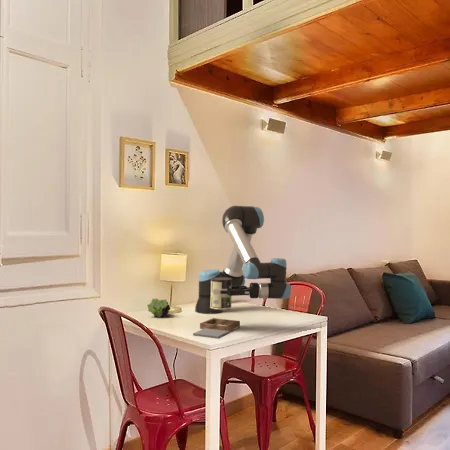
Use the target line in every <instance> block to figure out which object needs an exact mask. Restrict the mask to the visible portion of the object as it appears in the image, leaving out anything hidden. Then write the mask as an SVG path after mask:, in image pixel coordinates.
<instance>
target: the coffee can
mask: <svg viewBox="0 0 450 450" xmlns="http://www.w3.org/2000/svg"><path fill="white" fill-rule="evenodd" d="M227 288H230V289H232V278H227V277H213V278H211V301H210V308H212V309H218V310H222V311H223V310H231V308H232V296H229V295H213V289H227Z"/></svg>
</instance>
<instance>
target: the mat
mask: <svg viewBox="0 0 450 450" xmlns="http://www.w3.org/2000/svg"><path fill="white" fill-rule="evenodd" d="M229 333H230V331H225V330H216V329H208V328H204V329H200V330H197V331H195V332H193V333H192V336H196V337H204V338H210V339H220V338H221V336H222V337H223V335H224V336H225V334H226V335H227V334H229Z"/></svg>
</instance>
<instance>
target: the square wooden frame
mask: <svg viewBox="0 0 450 450" xmlns="http://www.w3.org/2000/svg"><path fill="white" fill-rule="evenodd" d="M240 325H241V321H240V320H233V319H225V318H224V319H223V318H215V317H212V318H210V319H208V320H205V321H202V322H200V323H199V329H200V330H202V329H204V328H208V329H216V330H225V331H229V332H231V331H233V330H235V329H237V328H239V327H240Z"/></svg>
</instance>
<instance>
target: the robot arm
mask: <svg viewBox="0 0 450 450" xmlns="http://www.w3.org/2000/svg"><path fill="white" fill-rule="evenodd" d="M221 221H222V226H223V229H224V231H225V232H226V233H227V234H228V235H229V237H230V239H231V241H232V243H233V245H232V248H231V252H230V256H229V259H228V262H227V265H225V266H224V267H223V270H222V271H220V269H217V268H216V269H205V270H202V271H200V272H199V275H198V298H197V301H196V304H195V307H194V309H195V310H194V312H196V313H198V314H199V313H200V314H211V315H212V314H218V313H222V312H223V310H218V309H212V308H210V301H211V278H213V277H227V278H232V289H230V288H227V289H213V295H229V296H231V297H233V296H234V297H236V296H249V298H250V299H262V300H265V299H277V300H283V299H284V300H285V299H289V298H290V297H291V294H292V290H291V284H290V283H289V282H287V269H288V268H287V267H288V266H287V259H285V258H279V257H278V258H277V257H275V258H271V259H270V262H261V260H260V259H259V257H258V255H257V253H256V251H255V249H254V248H253V245H252V243H251V242H252V238H253V235H255V234H256V233H257V230H258V229H261V228H263V226H264V222H265V217H264V213H263V211H262V209H261V208H260V207H258V206H254V205H252V206H251V205H250V206H248V205H247V206H246V205H245V206H244V205H233V206H229V207H228V208H226V209H225V211H224V212H223V214H222V219H221ZM246 279H248V280H261V279H270V282H259V283H258V282H250V283H249V286H246V285H245V284H246Z"/></svg>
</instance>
